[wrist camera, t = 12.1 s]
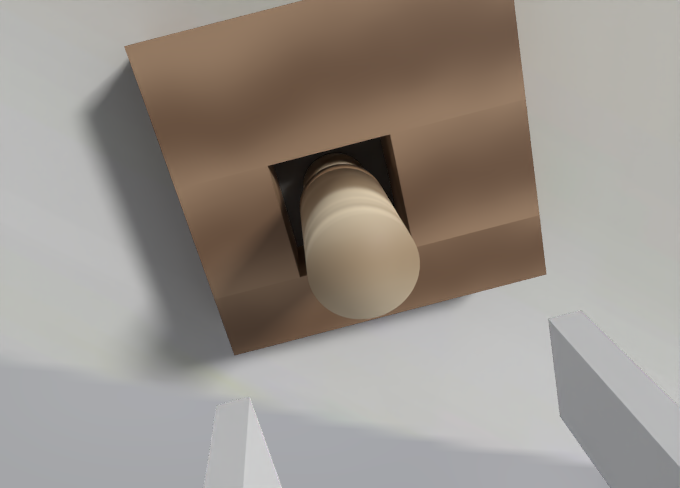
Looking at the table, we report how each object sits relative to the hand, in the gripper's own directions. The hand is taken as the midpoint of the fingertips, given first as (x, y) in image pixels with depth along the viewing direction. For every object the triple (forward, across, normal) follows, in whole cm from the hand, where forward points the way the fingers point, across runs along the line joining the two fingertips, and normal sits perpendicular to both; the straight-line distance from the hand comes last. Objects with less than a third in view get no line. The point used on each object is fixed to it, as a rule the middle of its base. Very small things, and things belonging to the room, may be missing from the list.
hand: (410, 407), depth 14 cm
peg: (+19, 0, 0) cm, 19 cm away
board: (+19, +1, +2) cm, 19 cm away
